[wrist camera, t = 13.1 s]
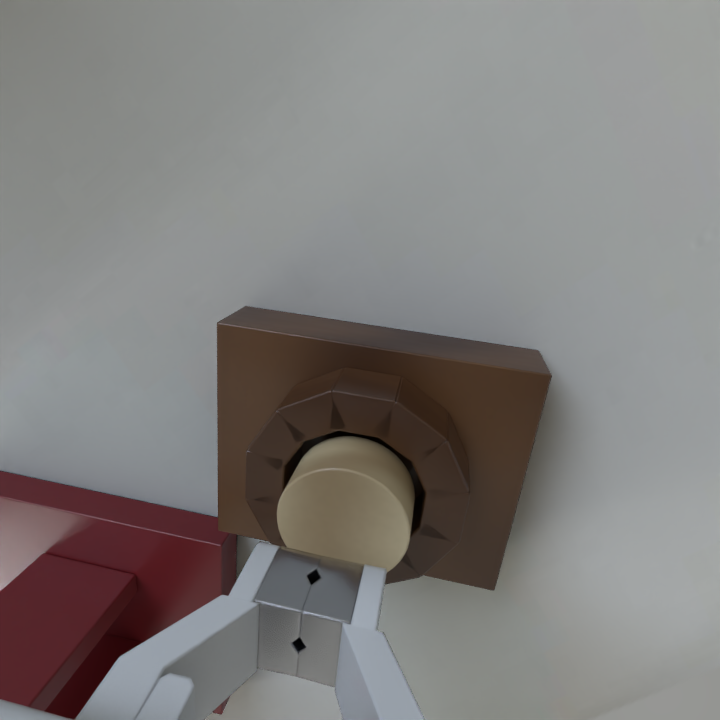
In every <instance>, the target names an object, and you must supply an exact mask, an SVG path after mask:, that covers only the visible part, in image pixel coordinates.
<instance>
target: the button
mask: <svg viewBox="0 0 720 720" xmlns="http://www.w3.org/2000/svg"><path fill="white" fill-rule="evenodd" d="M414 501H415V489H414V484H413V480H412V478H411V475H410V473H409V471H408V470H407V468H406V466H405V465H404V464H403V462H402V461H401V460H400V459H399V458H398V457H397V456H396V455H395V454H394V453H393V452H392V451H390V450H389V449H388V448H386V447H384V446H383V445H381V444H379V443H377V442H375V441H372V440H369V439H365V438H361V437H355V436H341V437H334V438H330V439H327V440H325V441H322V442H320V443H318V444H316V445H315V446H313V447H312V448H311V449H309V450H308V452H307V453H306V454H305V455H304V456H303V457H302V459H301V460H300V462H299V464H298V466H297V468H296V469H295V471H294V473H293V475H292V477H291V478H290V480H289V482H288V484H287V486H286V487H285V489H284V491H283V493H282V495H281V497H280V499H279V503H278V507H277V523H278V529H279V532H280V535H281V537H282V539H283V541H284V543H285V545H286V546H287V547H288V548H292V549H296V550H300V551H304V552H308V553H312V554H316V555H320V556H326V557H331V558H336V559H341V560H346V561H351V562H355V563H360V564H364V566H365V564H366V565H371V566H376V567H381V568H386V570H387V572H389V571H390V570H391V569H393V568H394V567H395V566H396V565H397V564H398V563H399V562H400V561H401V559H402V558H403V556H404V555H405V553H406V551H407V548H408V545H409V542H410V535H411V526H412V518H413V510H414Z"/></svg>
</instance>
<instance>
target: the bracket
mask: <svg viewBox="0 0 720 720" xmlns="http://www.w3.org/2000/svg"><path fill="white" fill-rule="evenodd" d="M236 547H237V534H232V533H228V532H223V531H219V530H218V517H213V516H208V515H204V514H199V513H194V512H190V511H185V510H180V509H176V508H171V507H166V506H162V505H157V504H152V503H148V502H143V501H138V500H134V499H129V498H124V497H120V496H115V495H110V494H106V493H101V492H96V491H92V490H87V489H82V488H78V487H73V486H68V485H64V484H59V483H54V482H50V481H45V480H40V479H36V478H31V477H26V476H22V475H17V474H12V473H8V472H3V471H0V699H2V700H6V701H9V702H13V703H16V704H20V705H23V706H27V707H30V708H34V709H38V710H41V711H45V712H48V713H52V714H55V715H59V716H62V717H66V718H70V719H73V720H75V718H76V717H77V716H78V714H79V713H80V711H81V710H82V709H83V707H84V706H85V704H86V703H87V702H88V700H89V699H90V697H91V696H92V694H93V693H94V692H95V690H96V689H97V687H98V686H99V685H100V683H101V682H102V680H103V679H104V678H105V676H106V675H107V673H108V672H109V670H110V669H111V668H112V666H113V665H114V663H115V662H116V661H117V659H118V658H119V657H120V656H121V655H123V654H125V653H126V652H128V651H130V650H131V649H133V648H135V647H136V646H138V645H140V644H141V643H143V642H144V641H146V640H148V639H149V638H151V637H153V636H154V635H156V634H158V633H159V632H161V631H163V630H164V629H166V628H168V627H169V626H171V625H173V624H174V623H176V622H178V621H179V620H181V619H182V618H184V617H186V616H187V615H189V614H191V613H192V612H194V611H196V610H197V609H199V608H201V607H202V606H204V605H206V604H207V603H209V602H211V601H212V600H214V599H216V598H217V597H219V596H220V595H226V596H228V595H229V594H230V592H231V590H232V588H233V586H234V584H235V583H236ZM229 697H230V696H229ZM229 697H228V698H227V699H226V700H225V701H224V702H223V703H221V704H220V705H219V706H218V707H217V708H216V709H215V710H214V711H213V712H214V713H217V714H222V713H223V711H224V709H225V706H226V704H227V702H228V699H229Z"/></svg>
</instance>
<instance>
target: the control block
mask: <svg viewBox="0 0 720 720" xmlns="http://www.w3.org/2000/svg"><path fill="white" fill-rule="evenodd" d="M551 377H552V376H551V373H550V371H549V369H548V367H547V365H546V364H545V362H544V360H543V358H542V356H541V354H540V352H539V351H538V350H532V349H525V348H519V347H512V346H505V345H499V344H492V343H486V342H479V341H472V340H466V339H459V338H453V337H446V336H439V335H433V334H426V333H420V332H413V331H406V330H400V329H393V328H386V327H380V326H373V325H367V324H360V323H353V322H347V321H340V320H334V319H327V318H320V317H314V316H307V315H301V314H294V313H287V312H281V311H274V310H268V309H261V308H254V307H248V306H245V307H243V308H241V309H240V310H238V311H236V312H235V313H233V314H231V315H229V316H228V317H226V318H224V319H223V320H221V321H219V322H218V323H217V399H218V530H219V531H223V532H228V533H232V534H237V535H241V536H246V537H251V538H255V539H260V540H264V541H269V542H270V543H272V544H273V545H277V546H283V547H287V546H286V545H285V543H284V541H283V539H282V537H281V535H280V532H279V529H278V523H277V507H278V503H279V499H280V497H281V495H282V493H283V491H284V489H285V487H286V486H287V484H288V482H289V480H290V478H291V477H292V475H293V473H294V471H295V469H296V468H297V466H298V464H299V462H300V460H301V459H302V457H303V456H304V455H305V454H306V453H307V452H308V450H309V449H311V448H312V447H313V446H315V445H316V444H318V443H320V442H322V441H325V440H327V439H330V438H334V437H341V436H355V437H361V438H365V439H369V440H372V441H375V442H377V443H379V444H381V445H383V446H384V447H386V448H388V449H389V450H390V451H392V452H393V453H394V454H395V455H396V456H397V457H398V458H399V459H400V460H401V461H402V462H403V464H404V465H405V466H406V468H407V470H408V471H409V473H410V475H411V478H412V480H413V484H414V489H415V501H414V510H413V518H412V526H411V535H410V542H409V545H408V548H407V551H406V553H405V555H404V556H403V558H402V559H401V561H400V562H399V563H398V564H397V565H396V566H395V567H394V568H393V569H391V570H390V571H389V572H387V574H386V580H385V584H390V583H395V582H400V581H405V580H409V579H414V578H419V577H420V576H423V575H425V576H429V577H434V578H439V579H443V580H448V581H452V582H457V583H461V584H466V585H471V586H475V587H480V588H484V589H489V590H495V586H496V583H497V579H498V575H499V571H500V568H501V564H502V560H503V556H504V553H505V549H506V545H507V542H508V538H509V534H510V530H511V527H512V523H513V519H514V515H515V512H516V508H517V504H518V500H519V497H520V493H521V489H522V485H523V482H524V478H525V474H526V470H527V467H528V463H529V459H530V455H531V452H532V448H533V444H534V440H535V437H536V433H537V429H538V425H539V422H540V418H541V414H542V410H543V407H544V403H545V399H546V395H547V392H548V388H549V384H550V380H551Z"/></svg>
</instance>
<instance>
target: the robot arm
mask: <svg viewBox="0 0 720 720" xmlns="http://www.w3.org/2000/svg"><path fill="white" fill-rule="evenodd" d="M386 574H387V570H386V568H381V567H376V566H371V565H366V564H365V566H364V564H360V563H355V562H351V561H346V560H341V559H336V558H331V557H326V556H320V555H316V554H312V553H308V552H304V551H300V550H296V549H292V548H288V547H283V546H277V545H273V544H269V543H265V542H261V541H260V542H259V543H258V544H257V545H256V546H255V548H254V549H253V551H252V553H251V555H250V557H249V559H248V560H247V562H246V564H245V566H244V568H243V570H242V572H241V573H240V575H239V577H238V579H237V581H236V583H235V584H234V586H233V588H232V590H231V592H230V594H229V595H228V596H226V595H220V596H219V597H217V598H216V599H214V600H212V601H211V602H209V603H207V604H206V605H204V606H202V607H201V608H199V609H197V610H196V611H194V612H192V613H191V614H189V615H187V616H186V617H184V618H182V619H181V620H179V621H178V622H176V623H174V624H173V625H171V626H169V627H168V628H166V629H164V630H163V631H161V632H159V633H158V634H156V635H154V636H153V637H151V638H149V639H148V640H146V641H144V642H143V643H141V644H140V645H138V646H136V647H135V648H133V649H131V650H130V651H128V652H126V653H125V654H123V655H121V656H120V657H119V658H118V659H117V661H116V662H115V663H114V665H113V666H112V668H111V669H110V670H109V672H108V673H107V675H106V676H105V678H104V679H103V680H102V682H101V683H100V685H99V686H98V687H97V689H96V690H95V692H94V693H93V694H92V696H91V697H90V699H89V700H88V702H87V703H86V704H85V706H84V707H83V709H82V710H81V711H80V713H79V714H78V716H77V717H76V718H75V720H204V719H205V718H206V717H207V716H208V715H210V714H211V713H212V712H213V711H214V710H215V709H216V708H217V707H218V706H219V705H220V704H221V703H223V702H224V701H225V700H226V699H227V698H228V697H229V696H230V695H231V694H232V693H233V692H234V691H236V690H237V689H238V688H239V687H240V686H241V685H242V684H243V683H244V682H245V681H246V680H247V679H249V678H250V677H251V676H252V675H253V674H254V673H255V672H256V671H257V668H260V669H264V670H269V671H274V672H278V673H283V674H287V675H292V676H296V677H300V678H303V679H307V680H310V681H314V682H317V683H321V684H324V685H328V686H331V687H335V693H336V696H337V700H338V703H339V707H340V711H341V714H342V718H343V720H425V718H424V716H423V714H422V712H421V710H420V708H419V705H418V703H417V701H416V699H415V697H414V695H413V693H412V691H411V689H410V687H409V684H408V682H407V680H406V678H405V676H404V674H403V672H402V670H401V668H400V666H399V664H398V661H397V659H396V657H395V655H394V653H393V651H392V649H391V647H390V645H389V643H388V640H387V638H386V636H385V634H384V633H383V632H380V631H377V630H378V624H379V618H380V611H381V605H382V599H383V593H384V586H385V580H386ZM0 720H73V719H70V718H66V717H62V716H59V715H55V714H52V713H48V712H45V711H41V710H38V709H34V708H30V707H27V706H23V705H20V704H16V703H13V702H9V701H6V700H2V699H0Z"/></svg>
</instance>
